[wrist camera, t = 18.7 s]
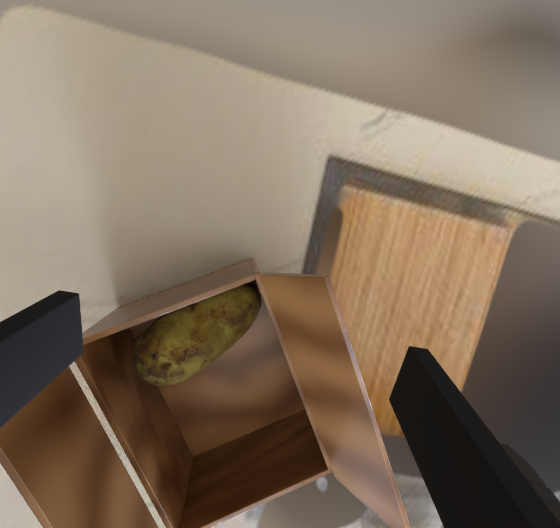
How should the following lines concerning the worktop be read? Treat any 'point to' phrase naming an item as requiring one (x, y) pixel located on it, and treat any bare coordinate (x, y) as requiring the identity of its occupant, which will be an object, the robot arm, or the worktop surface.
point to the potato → (194, 335)
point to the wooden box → (166, 426)
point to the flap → (335, 389)
